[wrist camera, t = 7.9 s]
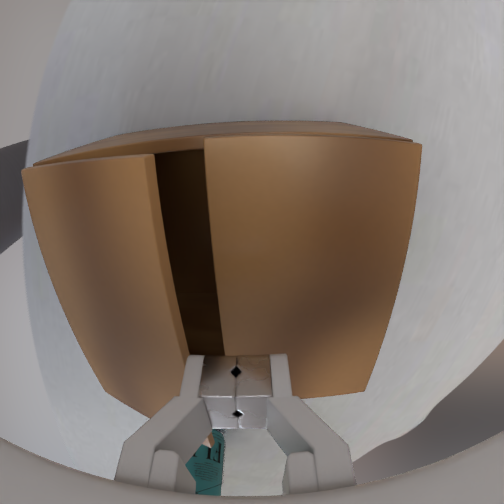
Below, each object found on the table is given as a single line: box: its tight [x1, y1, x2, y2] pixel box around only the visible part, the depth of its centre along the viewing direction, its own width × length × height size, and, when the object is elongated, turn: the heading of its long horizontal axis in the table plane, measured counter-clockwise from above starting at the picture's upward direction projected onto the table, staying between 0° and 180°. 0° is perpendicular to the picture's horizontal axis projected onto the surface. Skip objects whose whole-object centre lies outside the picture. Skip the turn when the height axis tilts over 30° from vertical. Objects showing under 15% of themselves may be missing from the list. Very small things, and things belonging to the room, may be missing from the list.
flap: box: [21, 154, 215, 448], centre depth 10 cm, size 7×13×1 cm, turn 1°
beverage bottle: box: [185, 429, 226, 496], centre depth 25 cm, size 6×7×20 cm
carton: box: [33, 121, 422, 399], centre depth 16 cm, size 15×13×10 cm
